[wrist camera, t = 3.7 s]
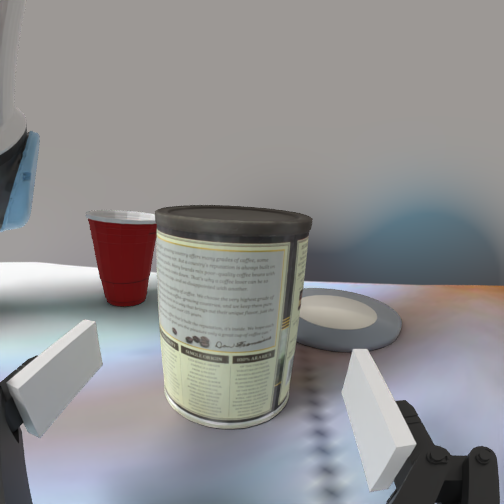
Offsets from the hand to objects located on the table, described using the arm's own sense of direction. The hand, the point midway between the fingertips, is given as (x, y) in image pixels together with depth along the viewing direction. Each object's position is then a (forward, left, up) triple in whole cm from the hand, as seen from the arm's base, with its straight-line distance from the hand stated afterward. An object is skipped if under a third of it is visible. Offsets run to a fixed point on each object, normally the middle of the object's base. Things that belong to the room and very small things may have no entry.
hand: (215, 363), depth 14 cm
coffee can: (0, +8, -8) cm, 11 cm away
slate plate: (+12, +24, -7) cm, 27 cm away
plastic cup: (-16, +24, -8) cm, 30 cm away
